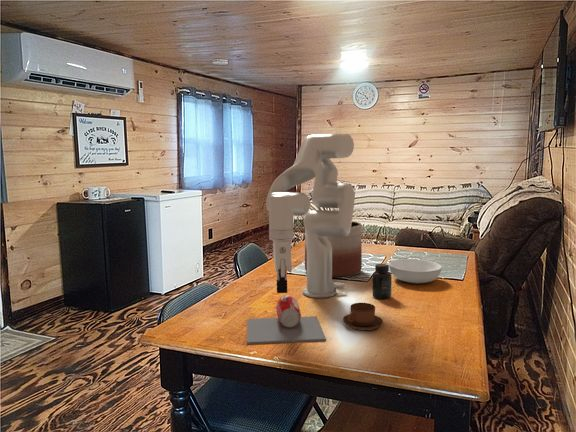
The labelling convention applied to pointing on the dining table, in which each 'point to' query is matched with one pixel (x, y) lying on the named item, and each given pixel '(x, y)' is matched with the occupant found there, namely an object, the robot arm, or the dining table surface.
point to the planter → (345, 252)
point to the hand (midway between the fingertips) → (282, 292)
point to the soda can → (288, 311)
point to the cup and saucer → (362, 317)
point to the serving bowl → (415, 270)
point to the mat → (283, 331)
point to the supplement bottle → (382, 282)
